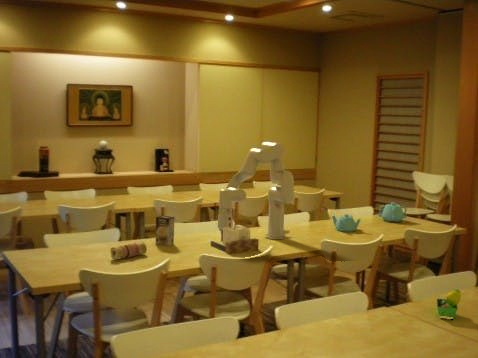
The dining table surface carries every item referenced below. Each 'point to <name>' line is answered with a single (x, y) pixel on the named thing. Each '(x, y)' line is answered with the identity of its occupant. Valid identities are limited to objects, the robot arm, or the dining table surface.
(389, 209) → the decorative pot
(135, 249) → the scroll
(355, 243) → the dining table surface
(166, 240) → the coffee box
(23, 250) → the dining table surface
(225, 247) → the guide track
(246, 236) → the cable organizer
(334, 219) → the teapot
